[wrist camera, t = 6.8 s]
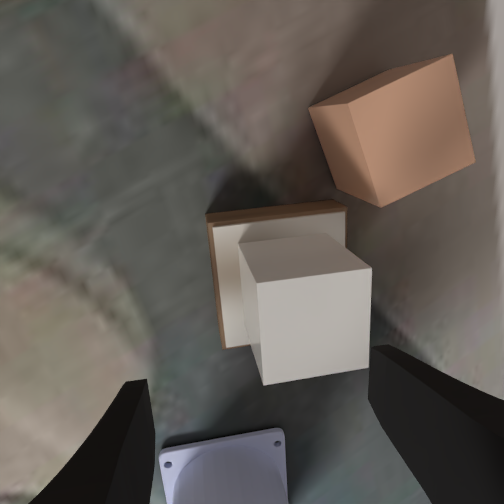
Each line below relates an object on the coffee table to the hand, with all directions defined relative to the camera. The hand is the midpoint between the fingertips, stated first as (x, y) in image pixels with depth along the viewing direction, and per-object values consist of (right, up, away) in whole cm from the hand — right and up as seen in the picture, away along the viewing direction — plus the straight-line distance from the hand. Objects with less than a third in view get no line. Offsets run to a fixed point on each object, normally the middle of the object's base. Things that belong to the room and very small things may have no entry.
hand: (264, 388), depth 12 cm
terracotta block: (+5, +11, +8) cm, 14 cm away
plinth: (+1, +4, +10) cm, 11 cm away
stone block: (+1, +3, +8) cm, 8 cm away
